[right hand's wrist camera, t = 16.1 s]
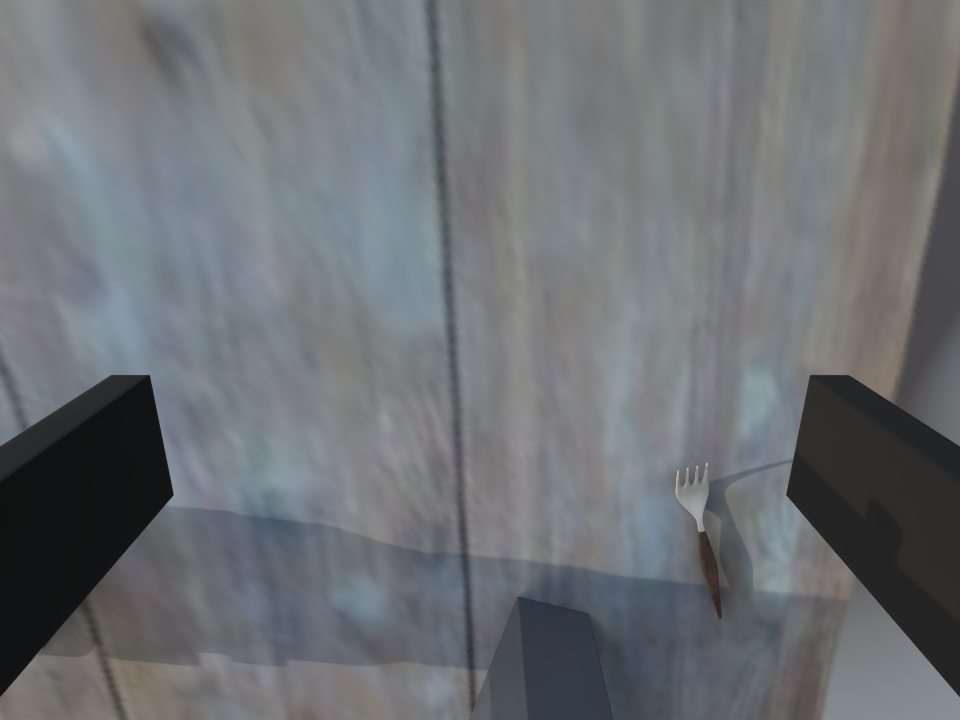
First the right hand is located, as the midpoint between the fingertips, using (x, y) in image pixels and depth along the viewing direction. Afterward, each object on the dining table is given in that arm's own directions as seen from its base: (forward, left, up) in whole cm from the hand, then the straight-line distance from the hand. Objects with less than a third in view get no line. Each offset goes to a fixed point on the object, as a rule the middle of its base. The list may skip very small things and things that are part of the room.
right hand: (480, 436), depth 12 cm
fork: (-3, +30, -30) cm, 43 cm away
